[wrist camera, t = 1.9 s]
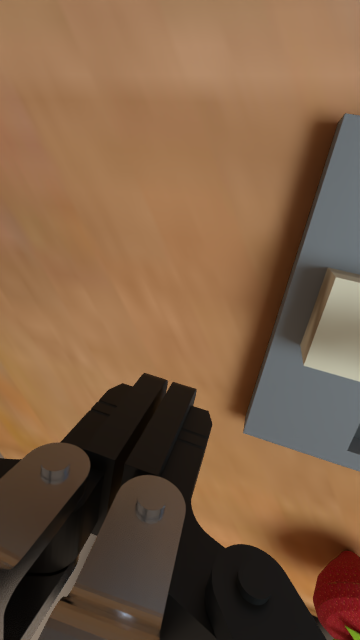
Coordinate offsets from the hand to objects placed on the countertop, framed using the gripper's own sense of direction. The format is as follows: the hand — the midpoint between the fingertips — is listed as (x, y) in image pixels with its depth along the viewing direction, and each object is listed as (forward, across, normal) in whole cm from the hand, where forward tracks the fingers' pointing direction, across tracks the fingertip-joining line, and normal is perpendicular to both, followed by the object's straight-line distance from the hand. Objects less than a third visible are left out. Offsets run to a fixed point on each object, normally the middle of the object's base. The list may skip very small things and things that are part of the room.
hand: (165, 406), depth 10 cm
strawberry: (+19, -17, +23) cm, 34 cm away
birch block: (+16, -9, 0) cm, 19 cm away
